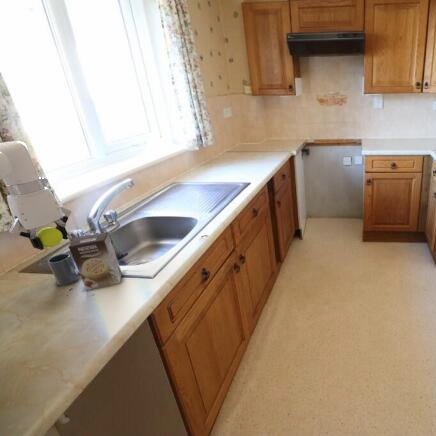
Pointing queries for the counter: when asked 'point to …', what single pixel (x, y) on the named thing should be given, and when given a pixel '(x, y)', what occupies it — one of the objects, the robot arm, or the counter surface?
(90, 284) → the coffee box
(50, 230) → the ball
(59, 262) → the tumbler
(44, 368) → the counter surface
